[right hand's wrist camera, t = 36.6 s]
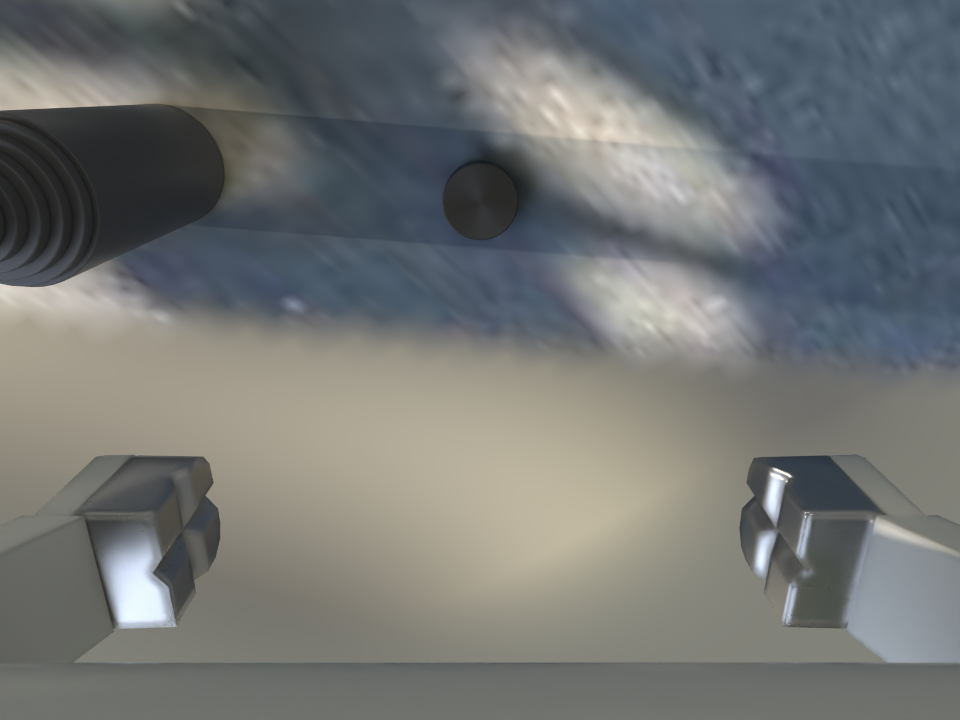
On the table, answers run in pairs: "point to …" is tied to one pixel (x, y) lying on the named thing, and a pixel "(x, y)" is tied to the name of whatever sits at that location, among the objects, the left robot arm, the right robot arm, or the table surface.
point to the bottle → (97, 185)
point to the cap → (480, 200)
